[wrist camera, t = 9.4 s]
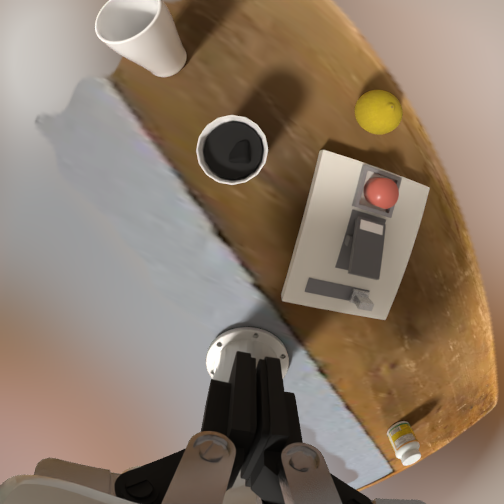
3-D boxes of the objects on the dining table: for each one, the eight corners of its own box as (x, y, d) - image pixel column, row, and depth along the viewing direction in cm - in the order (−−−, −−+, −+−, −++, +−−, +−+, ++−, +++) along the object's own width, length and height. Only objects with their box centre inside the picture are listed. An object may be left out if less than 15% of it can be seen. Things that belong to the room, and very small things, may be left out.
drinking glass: (202, 47, 32) (176, -9, 18) (178, 89, 34) (137, 51, 20) (159, 34, 31) (117, -17, 17) (135, 75, 33) (81, 38, 19)
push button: (384, 208, 36) (394, 212, 33) (360, 200, 36) (368, 203, 33) (391, 181, 35) (402, 183, 32) (367, 173, 35) (376, 174, 32)
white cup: (264, 128, 35) (268, 114, 26) (264, 180, 37) (267, 184, 28) (210, 128, 35) (196, 116, 26) (211, 180, 37) (196, 185, 28)
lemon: (370, 145, 36) (397, 141, 28) (339, 117, 35) (359, 107, 27) (391, 116, 35) (420, 107, 27) (361, 89, 34) (385, 73, 26)
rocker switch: (376, 279, 35) (379, 279, 34) (347, 273, 35) (350, 272, 34) (382, 225, 36) (386, 224, 35) (355, 217, 36) (358, 216, 35)
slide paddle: (363, 303, 39) (371, 314, 36) (348, 300, 39) (355, 311, 36) (368, 291, 39) (376, 301, 36) (352, 288, 39) (360, 298, 36)
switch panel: (380, 314, 42) (389, 325, 39) (280, 294, 42) (283, 306, 38) (422, 186, 37) (435, 188, 34) (319, 150, 36) (326, 149, 33)
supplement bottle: (390, 422, 50) (405, 455, 41) (412, 418, 50) (428, 449, 41) (383, 438, 51) (396, 470, 42) (404, 433, 51) (418, 464, 42)
